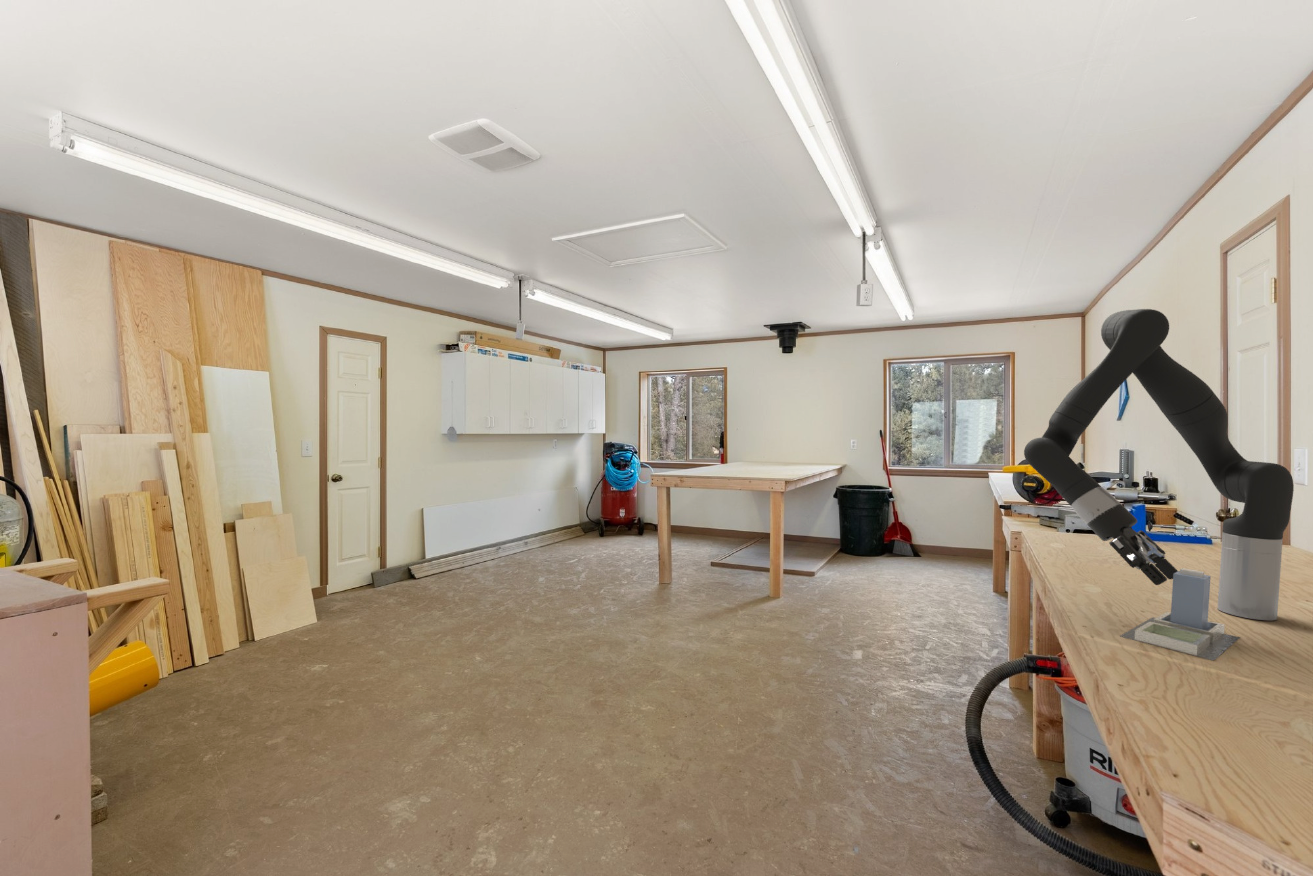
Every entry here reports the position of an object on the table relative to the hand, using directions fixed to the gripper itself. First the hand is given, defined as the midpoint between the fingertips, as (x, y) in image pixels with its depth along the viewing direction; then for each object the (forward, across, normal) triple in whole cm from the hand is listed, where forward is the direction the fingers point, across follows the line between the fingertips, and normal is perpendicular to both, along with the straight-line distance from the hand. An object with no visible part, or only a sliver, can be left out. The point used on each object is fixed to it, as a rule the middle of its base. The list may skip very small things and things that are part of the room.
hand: (1169, 580), depth 116 cm
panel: (+9, -6, +4) cm, 12 cm away
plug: (+9, 0, +4) cm, 10 cm away
